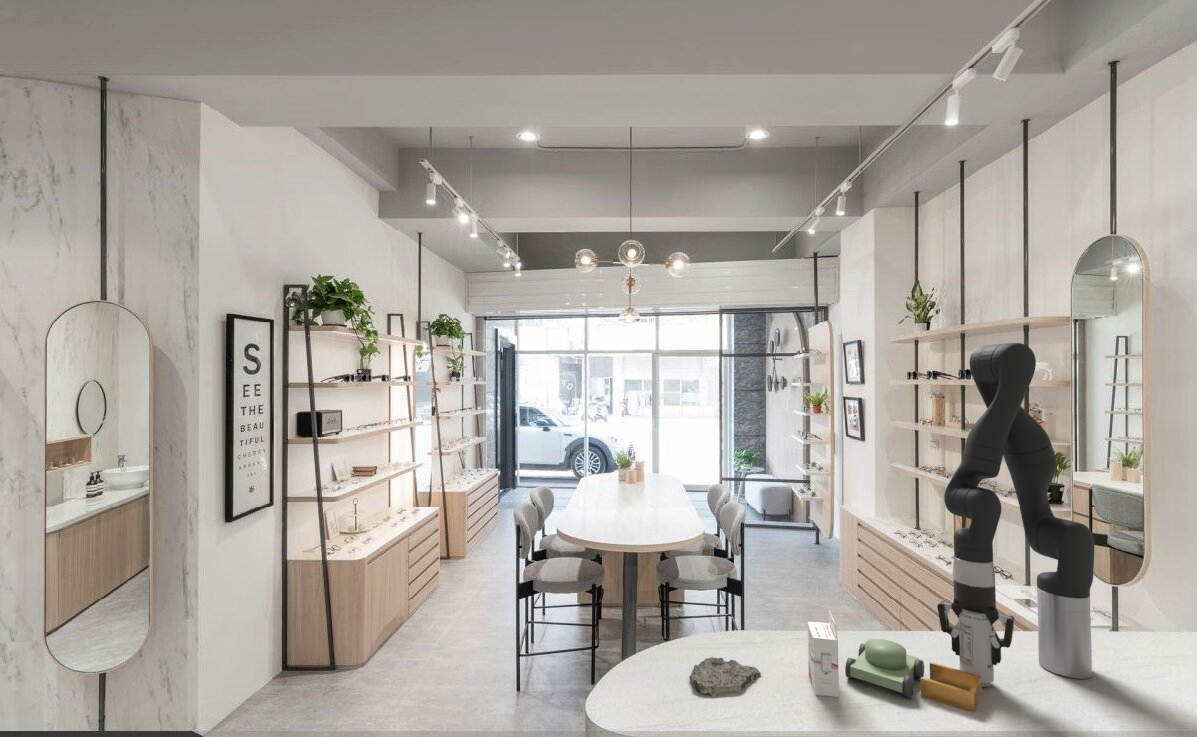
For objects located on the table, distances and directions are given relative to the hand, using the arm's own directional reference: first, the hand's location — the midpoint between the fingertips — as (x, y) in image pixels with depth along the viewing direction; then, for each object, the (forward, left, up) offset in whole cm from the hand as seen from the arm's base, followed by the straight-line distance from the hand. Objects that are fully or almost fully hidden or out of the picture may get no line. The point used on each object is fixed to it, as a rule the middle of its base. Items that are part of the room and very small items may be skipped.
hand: (976, 658), depth 121 cm
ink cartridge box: (+23, -24, -5) cm, 34 cm away
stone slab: (+35, -41, -6) cm, 54 cm away
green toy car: (+11, -15, -5) cm, 19 cm away
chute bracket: (+9, -3, -5) cm, 11 cm away
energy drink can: (0, 0, -5) cm, 5 cm away
